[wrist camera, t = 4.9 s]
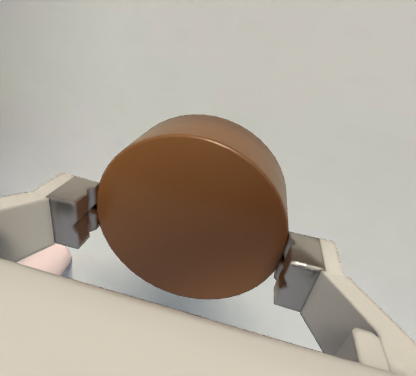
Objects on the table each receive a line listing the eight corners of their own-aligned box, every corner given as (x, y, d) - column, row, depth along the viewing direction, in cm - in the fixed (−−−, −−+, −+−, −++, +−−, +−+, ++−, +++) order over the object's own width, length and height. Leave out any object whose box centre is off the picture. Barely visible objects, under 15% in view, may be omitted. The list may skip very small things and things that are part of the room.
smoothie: (73, 234, 34) (-41, 343, 22) (87, 275, 37) (-7, 393, 25) (27, 230, 35) (-105, 332, 23) (44, 271, 38) (-65, 380, 26)
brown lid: (95, 168, 12) (59, 196, 10) (223, 75, 10) (209, 87, 7) (187, 276, 14) (172, 317, 12) (317, 224, 11) (326, 267, 9)
